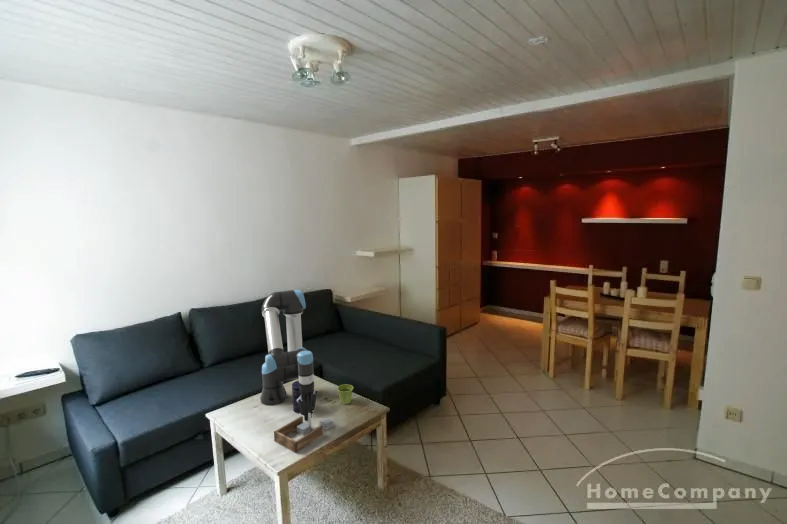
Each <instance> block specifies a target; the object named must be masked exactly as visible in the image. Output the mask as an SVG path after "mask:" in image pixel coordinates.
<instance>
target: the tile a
mask: <svg viewBox="0 0 787 524" xmlns="http://www.w3.org/2000/svg"><path fill="white" fill-rule="evenodd" d="M311 431H312V424H311V425H309V424H307V423H305V421H303V423H302V424H300V425H298V426H297V430H296V433H297V434H299V435H303V436H305V435H306V434H308V433H310V432H311Z"/></svg>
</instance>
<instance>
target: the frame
mask: <svg viewBox="0 0 787 524" xmlns="http://www.w3.org/2000/svg"><path fill="white" fill-rule="evenodd" d="M303 422H304V416H303V415H301V416H299V417H297V418H296V419H294V420H292V421H290V422H289V423H287V424H285V425H283V426H281V427H279V428H277V429H276V430H273V438H274V439H273V441H274V442H276V443H277V444H278V445H280V446H282V447H285V448H286V449H287V450H290V451H291V452H293V453H295V454H297V453H298V452H300V451H301V450H303V449H304V448H306V447H307V446H309V445H311V444H312V443H313V442H315V441H317V440H318V439H320V438H321V437H323V436H324V428H323V426H322V425H321V426H320V425H319V426H318V427H316V428H314V429H313V430H311V431H309V432H308V433H306V434H305V435H303V436H302V437H300V438H298V439H296V440H295V439H293V438H290V437H289V436H288V435H289V434H292V433H293V432H295V431H297V426H298V425H300V424H302V423H303Z"/></svg>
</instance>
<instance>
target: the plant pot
mask: <svg viewBox="0 0 787 524" xmlns="http://www.w3.org/2000/svg"><path fill="white" fill-rule="evenodd" d="M336 390H337V393H338V396H339V402H340V404H342V405H348V404H350V403H351V402H352V395H353V390H354V386H353V385H351V384H345V383H344V384H340V385H339V386H338V387H337V388H336Z"/></svg>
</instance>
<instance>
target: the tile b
mask: <svg viewBox="0 0 787 524" xmlns="http://www.w3.org/2000/svg"><path fill="white" fill-rule="evenodd" d="M321 425H322V426H323V430H324V431H325V430H327V429H329V428H331V427H333V426H334V420H333V419H331V418H330V417H329V416H328V417H325V418H323V419H320V420H319V426H321Z"/></svg>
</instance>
